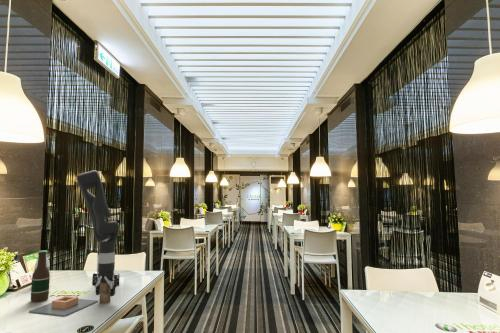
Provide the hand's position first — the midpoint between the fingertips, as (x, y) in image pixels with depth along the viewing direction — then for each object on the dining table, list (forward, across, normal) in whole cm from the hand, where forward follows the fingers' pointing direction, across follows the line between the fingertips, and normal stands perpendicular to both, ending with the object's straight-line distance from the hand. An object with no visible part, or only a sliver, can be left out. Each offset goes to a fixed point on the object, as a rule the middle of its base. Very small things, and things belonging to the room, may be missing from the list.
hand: (105, 295), depth 154 cm
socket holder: (+4, +14, +10) cm, 18 cm away
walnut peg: (+4, 0, 0) cm, 4 cm away
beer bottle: (+4, +35, +5) cm, 36 cm away
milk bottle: (+4, +59, -17) cm, 62 cm away
